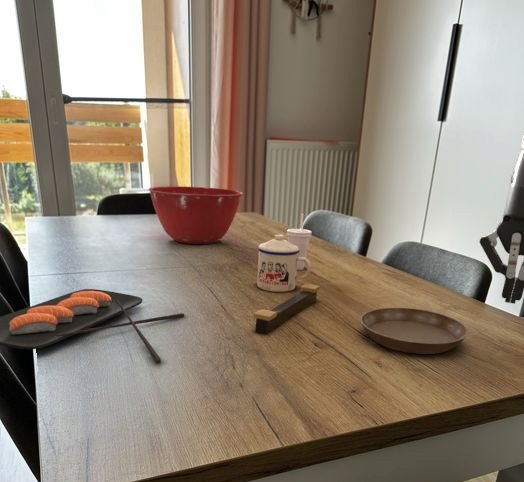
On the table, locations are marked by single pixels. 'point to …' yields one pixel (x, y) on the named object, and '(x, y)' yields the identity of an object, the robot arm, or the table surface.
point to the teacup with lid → (279, 265)
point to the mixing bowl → (195, 212)
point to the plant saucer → (413, 330)
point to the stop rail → (285, 309)
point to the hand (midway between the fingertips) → (509, 301)
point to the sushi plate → (70, 318)
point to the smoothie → (300, 241)
